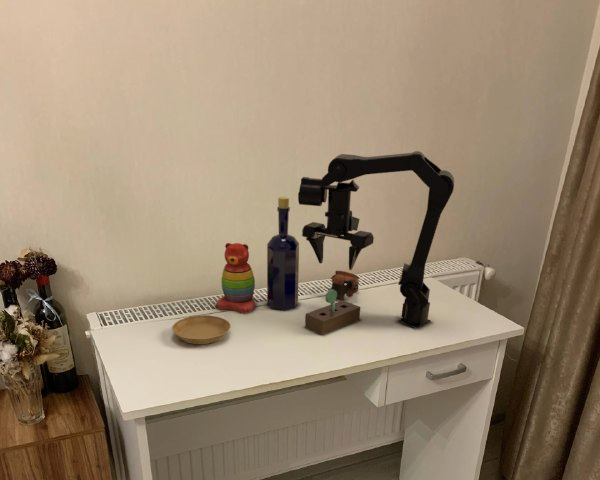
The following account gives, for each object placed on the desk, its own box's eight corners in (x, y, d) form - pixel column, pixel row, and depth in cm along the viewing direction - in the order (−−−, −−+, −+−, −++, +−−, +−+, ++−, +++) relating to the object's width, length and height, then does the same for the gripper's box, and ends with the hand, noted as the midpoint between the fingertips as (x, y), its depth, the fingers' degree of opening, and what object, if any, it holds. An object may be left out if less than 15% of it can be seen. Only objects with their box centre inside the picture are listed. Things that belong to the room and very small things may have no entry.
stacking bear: (213, 308, 173) (210, 246, 164) (228, 296, 181) (225, 236, 172) (248, 314, 170) (247, 251, 161) (262, 301, 178) (261, 241, 169)
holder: (359, 320, 168) (360, 306, 166) (322, 335, 159) (323, 321, 157) (342, 313, 172) (343, 300, 170) (304, 327, 163) (305, 313, 161)
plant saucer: (176, 351, 150) (175, 341, 148) (170, 326, 162) (169, 317, 160) (235, 345, 153) (235, 335, 152) (225, 321, 165) (225, 312, 164)
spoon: (337, 322, 166) (337, 288, 160) (328, 327, 164) (328, 292, 158) (334, 321, 167) (334, 287, 161) (325, 326, 165) (325, 291, 159)
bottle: (285, 313, 171) (286, 204, 156) (260, 305, 176) (259, 198, 160) (304, 303, 177) (308, 197, 162) (280, 296, 182) (281, 192, 167)
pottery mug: (319, 294, 185) (327, 268, 185) (343, 303, 190) (351, 278, 190) (342, 297, 175) (350, 269, 175) (367, 307, 180) (375, 280, 180)
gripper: (385, 206, 159) (379, 264, 167) (322, 196, 167) (320, 252, 175) (366, 215, 151) (361, 276, 159) (301, 204, 159) (300, 262, 167)
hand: (335, 266), depth 165 cm, fingers open, 9 cm apart
